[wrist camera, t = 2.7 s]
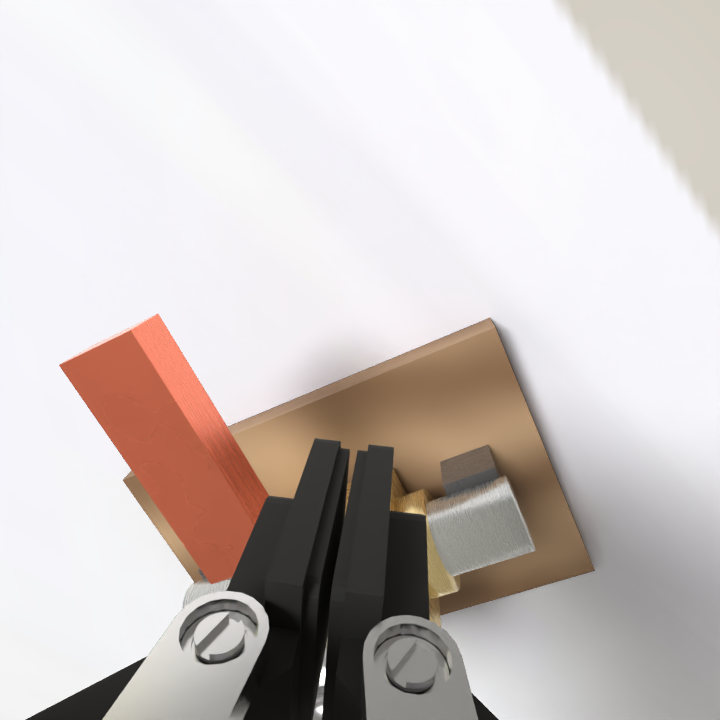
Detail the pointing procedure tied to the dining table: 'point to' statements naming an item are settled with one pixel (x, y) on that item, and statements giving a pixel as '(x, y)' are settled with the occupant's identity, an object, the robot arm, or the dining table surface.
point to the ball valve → (452, 524)
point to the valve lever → (174, 445)
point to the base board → (422, 449)
